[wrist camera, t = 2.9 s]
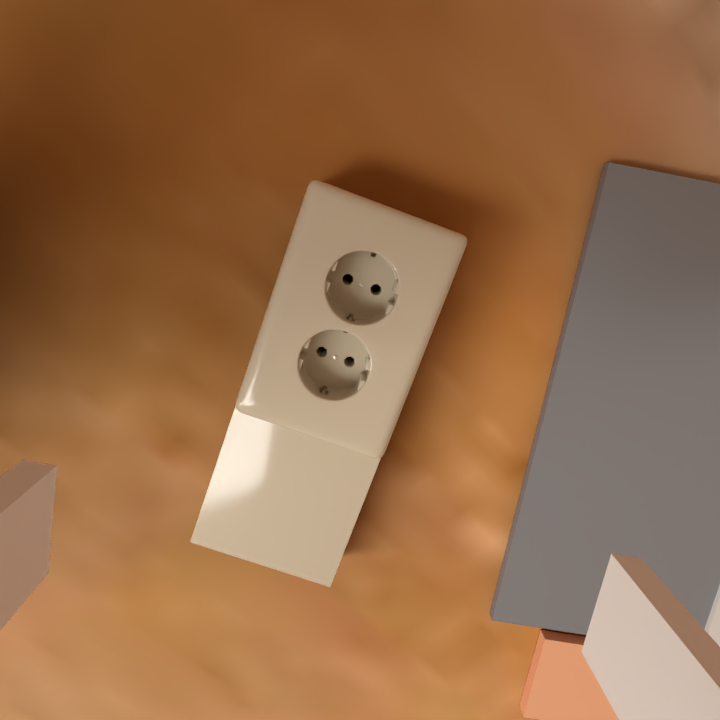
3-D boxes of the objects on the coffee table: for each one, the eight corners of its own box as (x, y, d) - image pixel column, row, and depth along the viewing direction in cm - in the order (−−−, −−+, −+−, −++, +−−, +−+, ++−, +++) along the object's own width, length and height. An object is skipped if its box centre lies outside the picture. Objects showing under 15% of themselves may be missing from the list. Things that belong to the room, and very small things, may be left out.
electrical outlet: (184, 552, 28) (309, 176, 25) (205, 512, 32) (316, 183, 29) (329, 598, 29) (471, 237, 25) (332, 553, 33) (456, 235, 29)
